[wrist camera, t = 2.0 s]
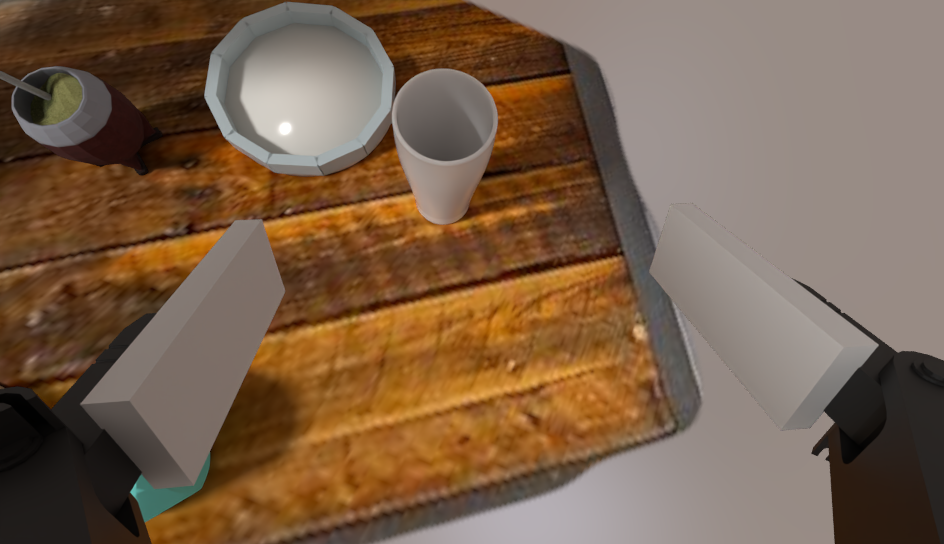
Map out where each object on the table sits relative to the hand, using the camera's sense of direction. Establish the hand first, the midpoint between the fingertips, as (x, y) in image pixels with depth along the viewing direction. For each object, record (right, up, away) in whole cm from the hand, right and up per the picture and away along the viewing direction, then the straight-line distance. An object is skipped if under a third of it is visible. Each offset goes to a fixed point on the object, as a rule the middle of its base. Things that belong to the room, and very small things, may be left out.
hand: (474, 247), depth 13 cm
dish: (-16, +17, +27) cm, 36 cm away
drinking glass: (-3, +6, +26) cm, 27 cm away
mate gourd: (-33, +11, +25) cm, 43 cm away
